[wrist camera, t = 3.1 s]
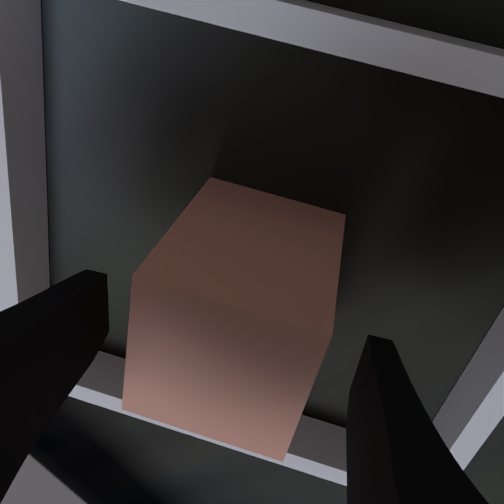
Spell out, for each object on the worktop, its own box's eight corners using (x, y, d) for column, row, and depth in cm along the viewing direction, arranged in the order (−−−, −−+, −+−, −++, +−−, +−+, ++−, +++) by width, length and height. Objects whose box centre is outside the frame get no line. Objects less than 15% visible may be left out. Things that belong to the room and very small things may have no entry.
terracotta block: (345, 214, 15) (332, 335, 10) (309, 320, 18) (283, 461, 13) (210, 176, 16) (132, 274, 11) (192, 286, 18) (121, 409, 13)
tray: (675, 91, 12) (727, 112, 10) (426, 467, 20) (431, 513, 18) (11, -73, 13) (-43, -79, 11) (35, 343, 21) (6, 375, 20)
